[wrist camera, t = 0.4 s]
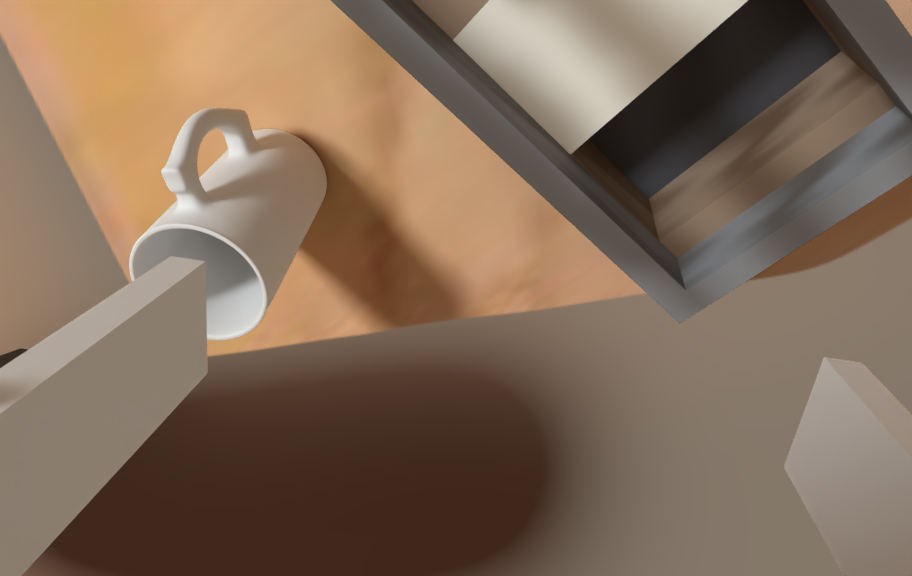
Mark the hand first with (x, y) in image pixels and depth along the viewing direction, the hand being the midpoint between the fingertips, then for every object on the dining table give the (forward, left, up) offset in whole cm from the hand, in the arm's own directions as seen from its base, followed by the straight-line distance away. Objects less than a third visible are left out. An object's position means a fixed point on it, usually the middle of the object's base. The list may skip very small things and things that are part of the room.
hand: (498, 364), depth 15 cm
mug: (+16, -6, -26) cm, 31 cm away
